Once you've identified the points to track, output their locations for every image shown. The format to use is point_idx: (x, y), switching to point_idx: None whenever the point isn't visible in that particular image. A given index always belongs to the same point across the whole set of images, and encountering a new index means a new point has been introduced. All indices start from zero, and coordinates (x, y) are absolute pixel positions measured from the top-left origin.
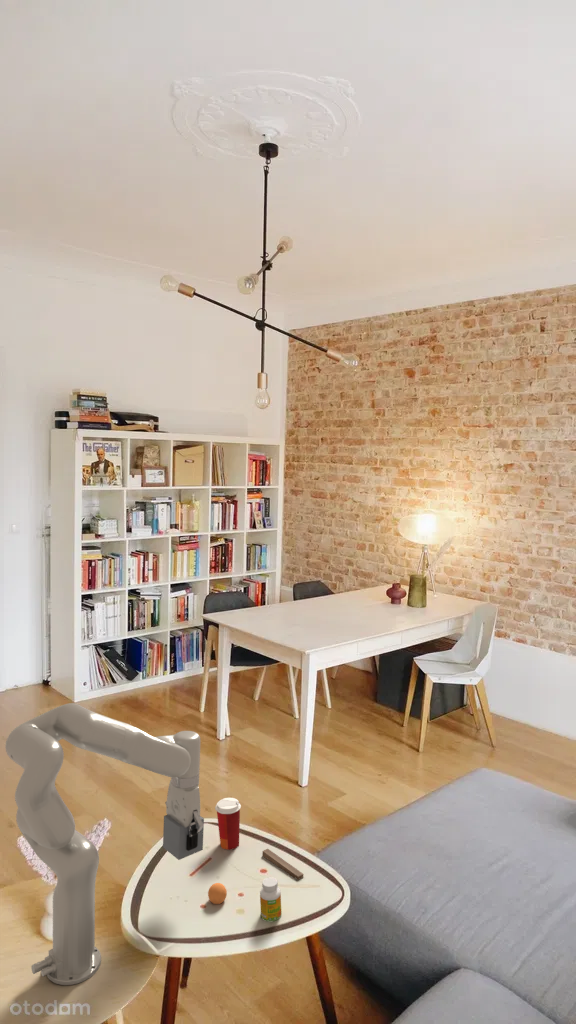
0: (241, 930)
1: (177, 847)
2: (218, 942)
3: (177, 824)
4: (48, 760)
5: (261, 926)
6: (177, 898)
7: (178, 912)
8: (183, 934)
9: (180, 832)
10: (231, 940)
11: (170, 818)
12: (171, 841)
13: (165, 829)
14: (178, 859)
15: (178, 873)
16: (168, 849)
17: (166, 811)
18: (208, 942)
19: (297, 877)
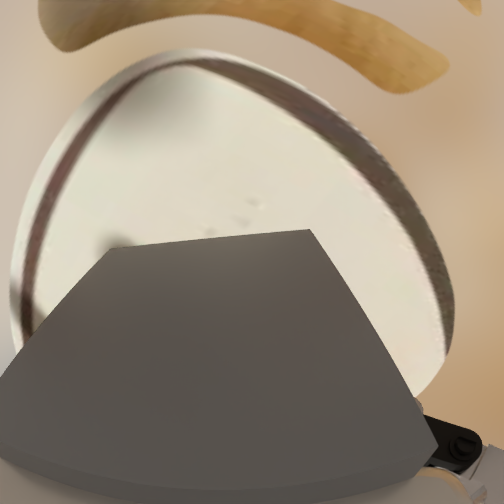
0: (40, 285)
1: (94, 284)
2: (29, 224)
3: (35, 463)
4: None
5: (38, 321)
6: (237, 216)
7: (175, 188)
8: (88, 162)
9: (2, 389)
10: (24, 251)
11: (269, 501)
12: (183, 284)
13: (318, 318)
14: (111, 249)
15: (341, 274)
16: (234, 242)
17: (451, 496)
18: (38, 205)
19: None
